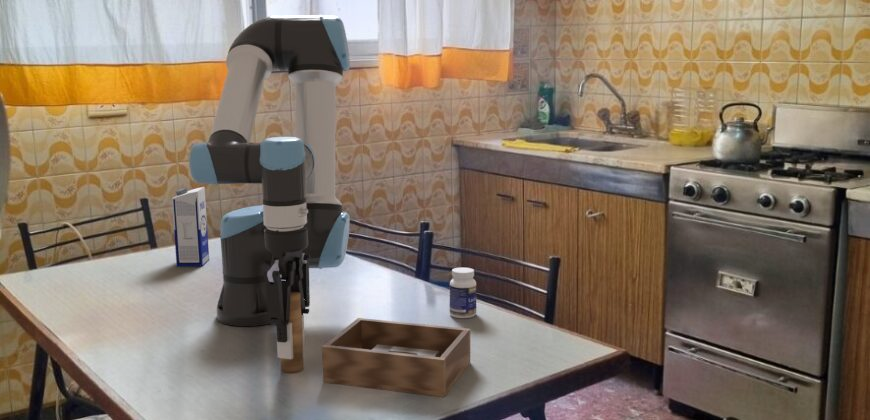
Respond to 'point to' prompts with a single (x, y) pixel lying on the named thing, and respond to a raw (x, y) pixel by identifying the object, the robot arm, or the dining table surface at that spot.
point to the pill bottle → (463, 293)
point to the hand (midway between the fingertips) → (291, 352)
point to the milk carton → (190, 227)
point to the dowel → (294, 336)
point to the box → (397, 356)
